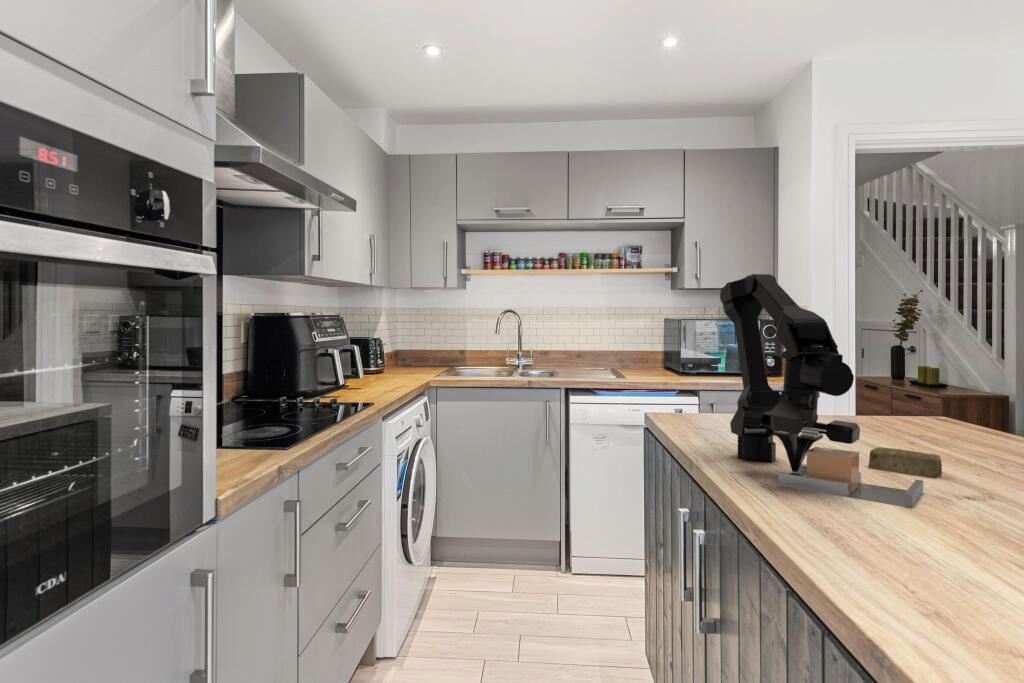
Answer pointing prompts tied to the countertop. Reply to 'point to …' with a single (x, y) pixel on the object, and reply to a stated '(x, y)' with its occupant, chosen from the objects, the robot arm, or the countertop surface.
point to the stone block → (905, 462)
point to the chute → (843, 488)
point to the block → (834, 465)
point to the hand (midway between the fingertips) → (795, 471)
